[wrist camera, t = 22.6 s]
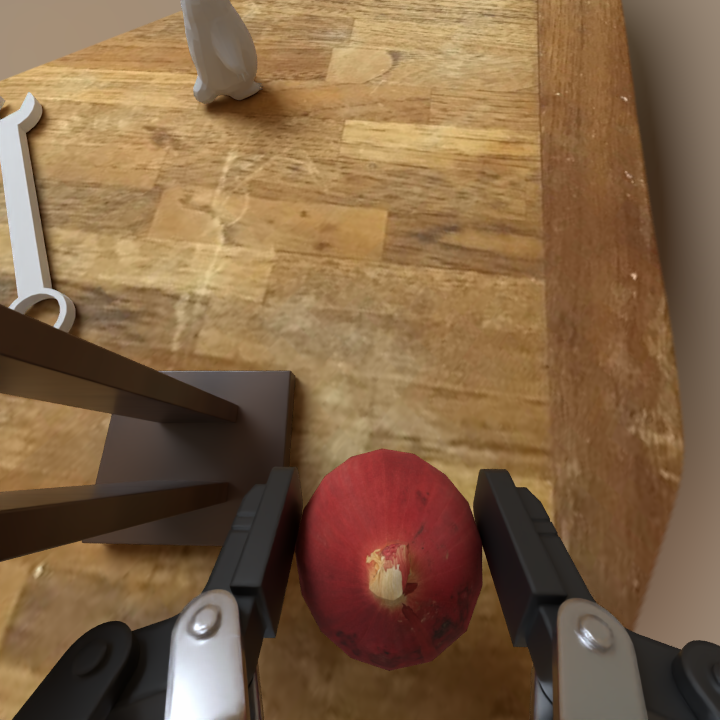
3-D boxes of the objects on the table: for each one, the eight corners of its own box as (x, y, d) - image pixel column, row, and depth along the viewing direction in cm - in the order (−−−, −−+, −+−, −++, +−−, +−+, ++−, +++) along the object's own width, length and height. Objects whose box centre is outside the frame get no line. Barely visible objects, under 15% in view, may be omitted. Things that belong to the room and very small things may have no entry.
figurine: (283, 108, 27) (248, -30, 19) (217, 137, 26) (154, 6, 19) (244, 53, 29) (199, -89, 21) (183, 78, 28) (114, -59, 21)
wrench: (38, 89, 28) (-19, 108, 28) (30, 81, 28) (-28, 100, 27) (86, 332, 21) (10, 362, 21) (77, 328, 20) (-2, 359, 20)
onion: (480, 543, 14) (612, 640, 6) (369, 637, 13) (363, 885, 5) (396, 429, 15) (418, 393, 8) (292, 506, 14) (202, 550, 7)
